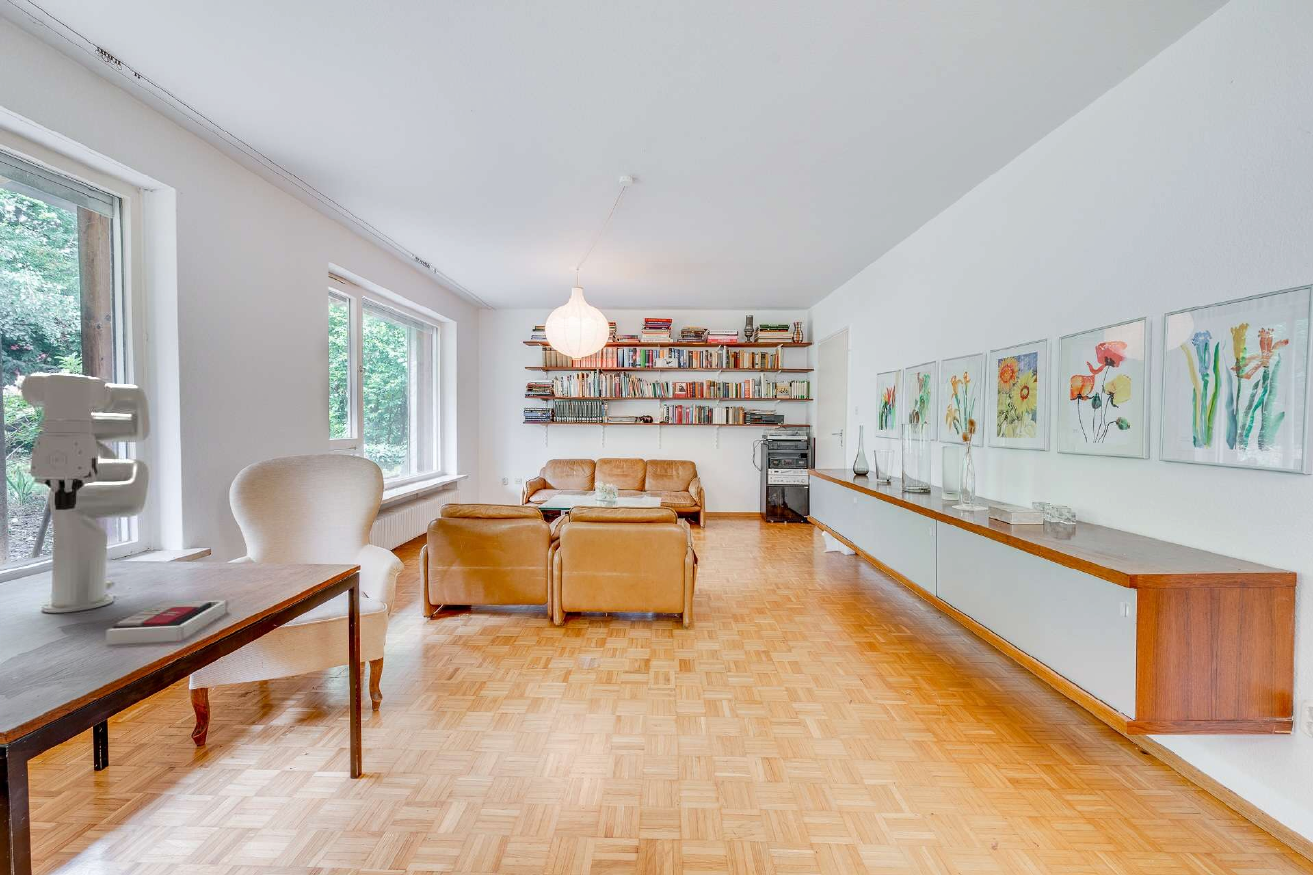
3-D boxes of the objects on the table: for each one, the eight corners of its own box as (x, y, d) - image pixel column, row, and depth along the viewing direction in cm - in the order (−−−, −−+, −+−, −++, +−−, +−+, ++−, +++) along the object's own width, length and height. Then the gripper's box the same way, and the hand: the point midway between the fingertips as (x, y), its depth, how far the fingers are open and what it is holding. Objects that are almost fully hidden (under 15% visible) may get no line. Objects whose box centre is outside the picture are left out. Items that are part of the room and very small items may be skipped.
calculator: (111, 623, 120) (162, 599, 135) (111, 642, 120) (163, 616, 135) (167, 622, 122) (212, 598, 137) (167, 641, 122) (212, 615, 137)
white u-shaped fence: (164, 614, 136) (164, 602, 136) (227, 611, 140) (227, 600, 140) (105, 644, 117) (106, 630, 117) (181, 640, 120) (181, 626, 120)
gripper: (11, 427, 120) (9, 511, 120) (95, 429, 124) (93, 511, 124) (40, 427, 127) (38, 507, 127) (119, 429, 131) (116, 507, 131)
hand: (65, 508), depth 125 cm, fingers closed
